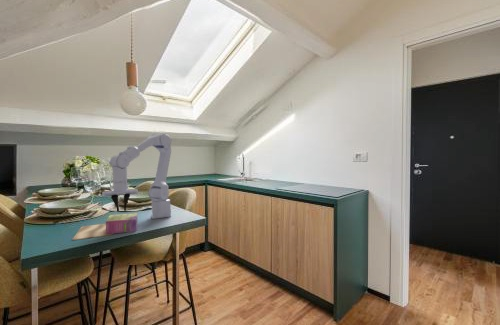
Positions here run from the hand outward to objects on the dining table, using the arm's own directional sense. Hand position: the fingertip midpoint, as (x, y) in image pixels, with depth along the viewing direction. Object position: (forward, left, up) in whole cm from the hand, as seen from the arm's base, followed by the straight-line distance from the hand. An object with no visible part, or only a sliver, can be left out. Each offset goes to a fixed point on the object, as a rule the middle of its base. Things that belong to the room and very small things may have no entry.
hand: (121, 210), depth 114 cm
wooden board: (+10, 0, -8) cm, 13 cm away
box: (+6, +3, -5) cm, 8 cm away
